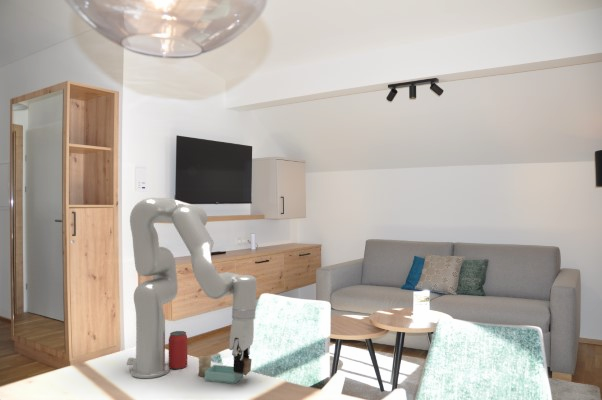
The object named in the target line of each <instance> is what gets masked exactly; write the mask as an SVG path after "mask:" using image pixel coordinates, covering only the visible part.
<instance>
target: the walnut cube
mask: <svg viewBox="0 0 602 400" xmlns="http://www.w3.org/2000/svg"><path fill="white" fill-rule="evenodd" d="M243 360H244V366H243V372H242V373H239V372H234V373H238V374H243V376H247V375H248V374H249V373H250V372H251V370H252V369H251V368H252V358H250V357H249V358H243Z"/></svg>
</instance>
